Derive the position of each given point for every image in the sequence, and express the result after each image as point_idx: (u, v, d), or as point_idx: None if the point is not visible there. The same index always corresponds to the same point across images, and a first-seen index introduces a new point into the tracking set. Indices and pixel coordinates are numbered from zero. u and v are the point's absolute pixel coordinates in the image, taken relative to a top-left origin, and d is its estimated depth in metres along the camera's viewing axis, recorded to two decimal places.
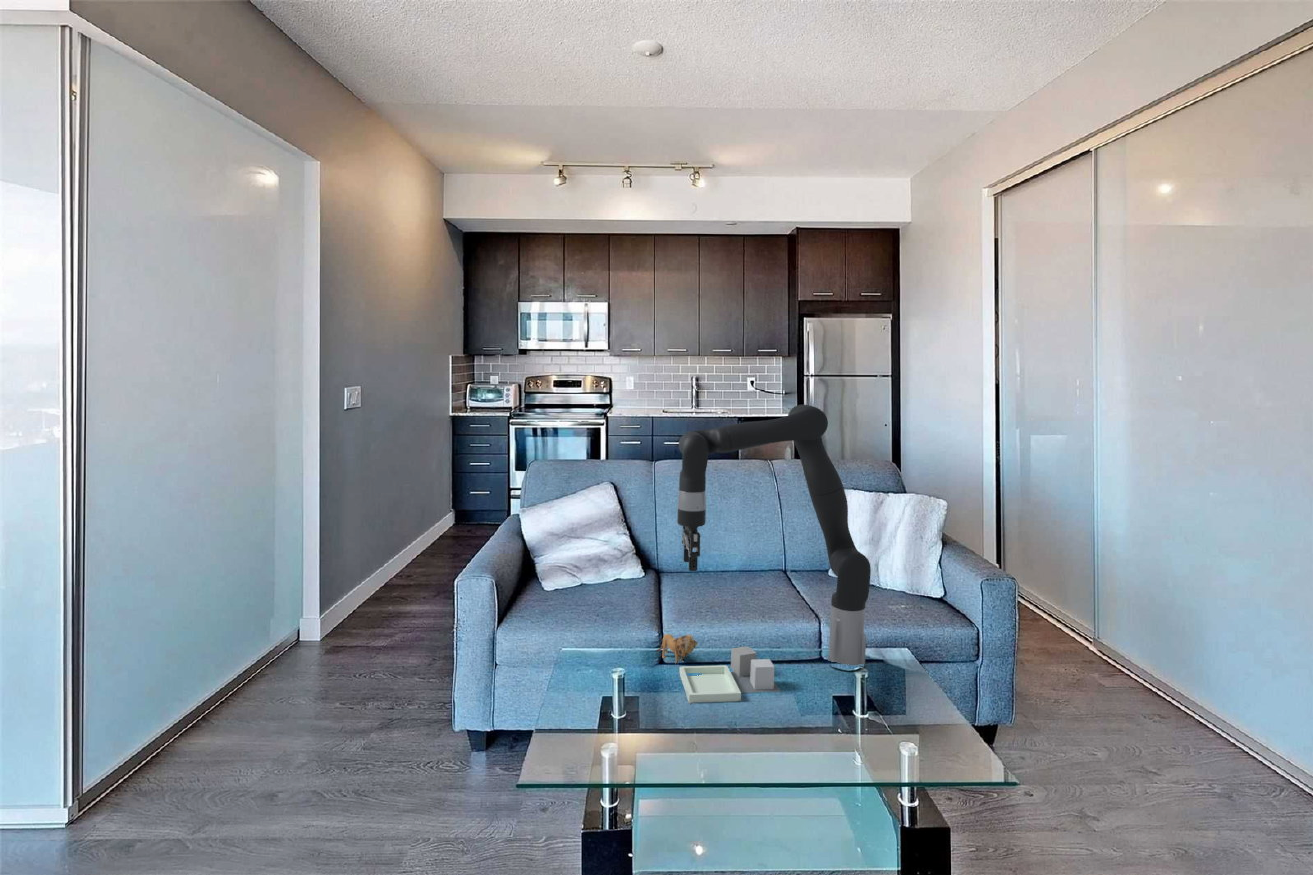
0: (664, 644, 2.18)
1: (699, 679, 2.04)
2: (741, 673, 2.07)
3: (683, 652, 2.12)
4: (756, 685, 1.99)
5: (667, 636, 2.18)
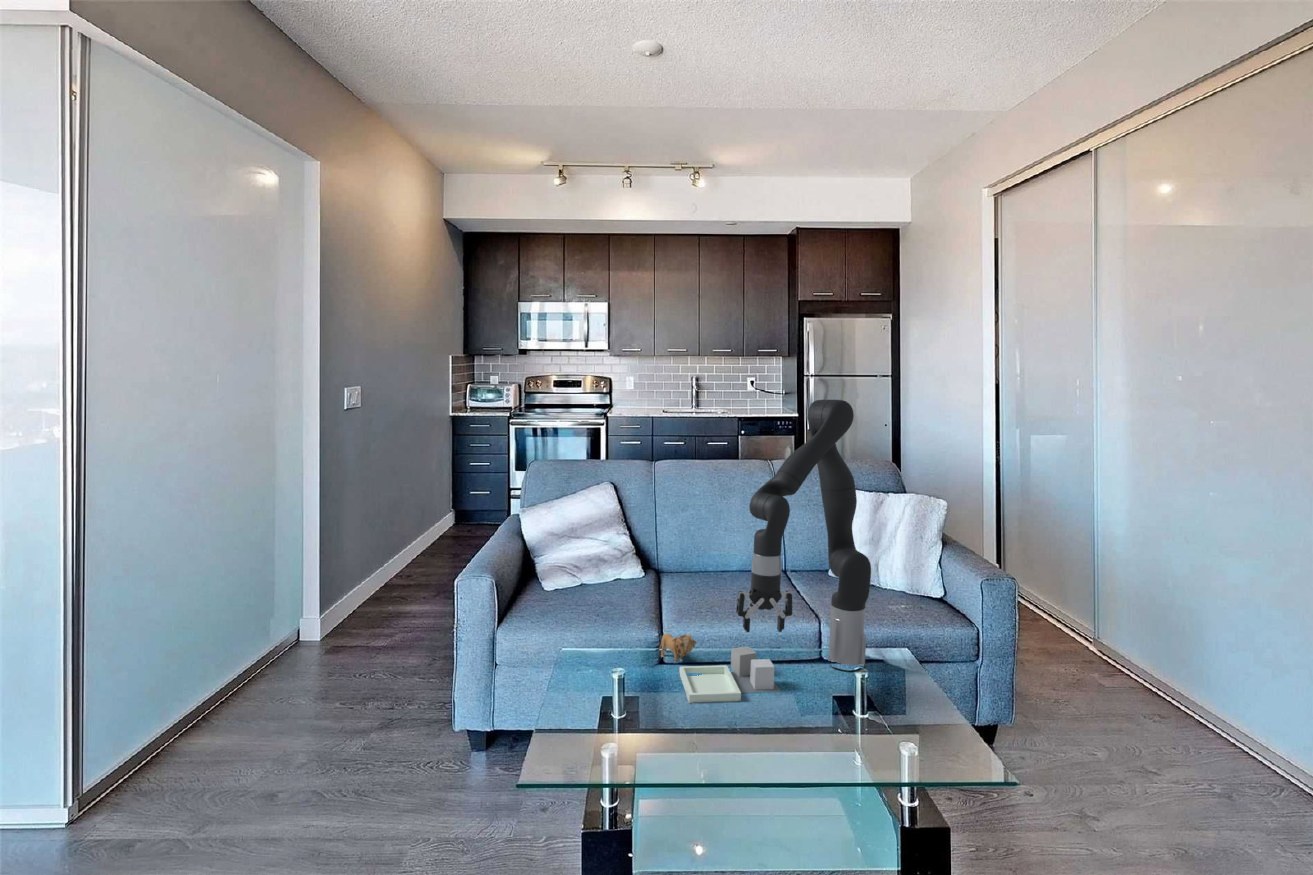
0: (663, 644, 2.19)
1: (699, 679, 2.04)
2: (741, 673, 2.07)
3: (682, 651, 2.12)
4: (756, 685, 1.99)
5: (666, 636, 2.18)
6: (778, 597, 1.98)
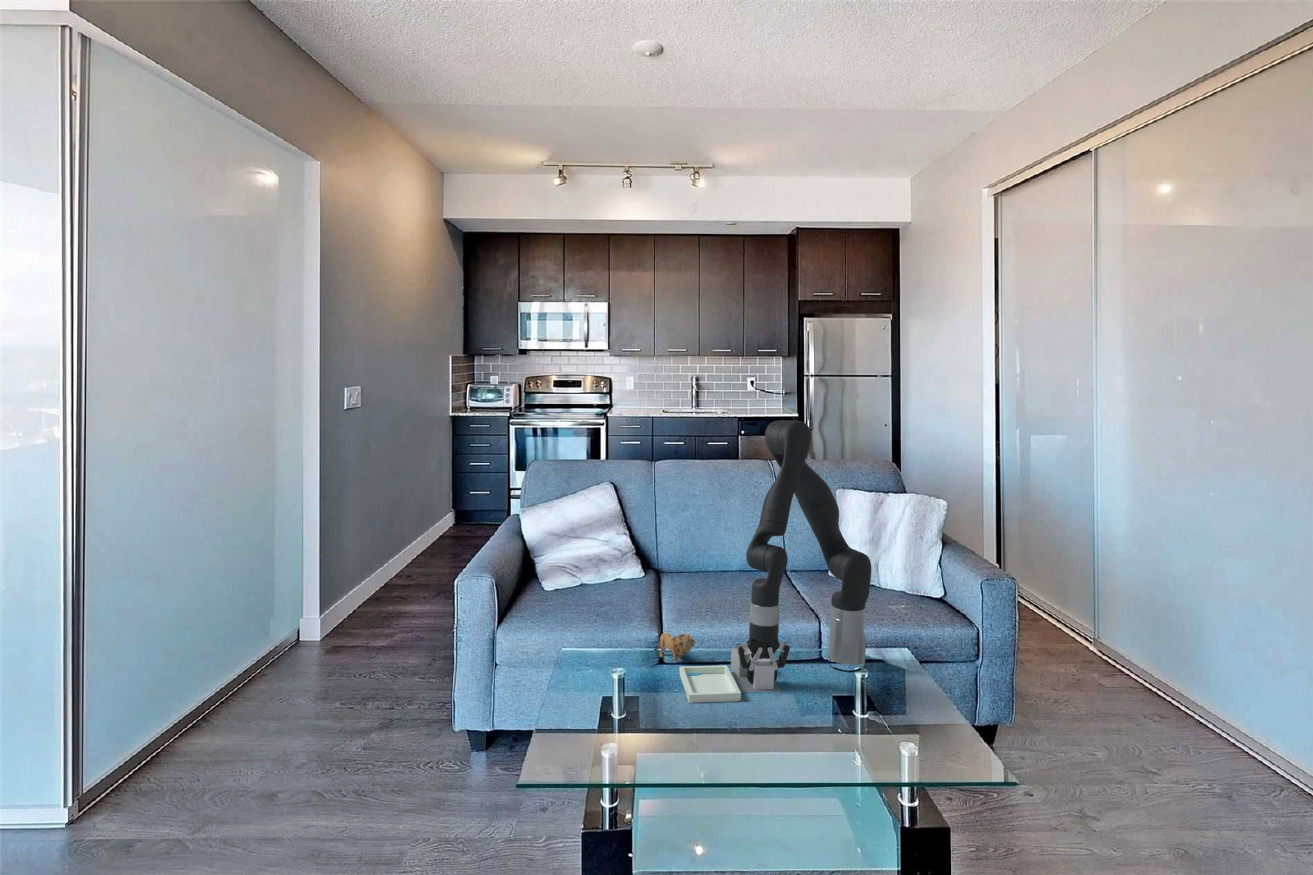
0: (662, 643, 2.19)
1: (699, 679, 2.04)
2: (741, 673, 2.07)
3: (681, 651, 2.12)
4: (756, 685, 1.99)
5: (665, 635, 2.19)
6: (776, 646, 2.00)
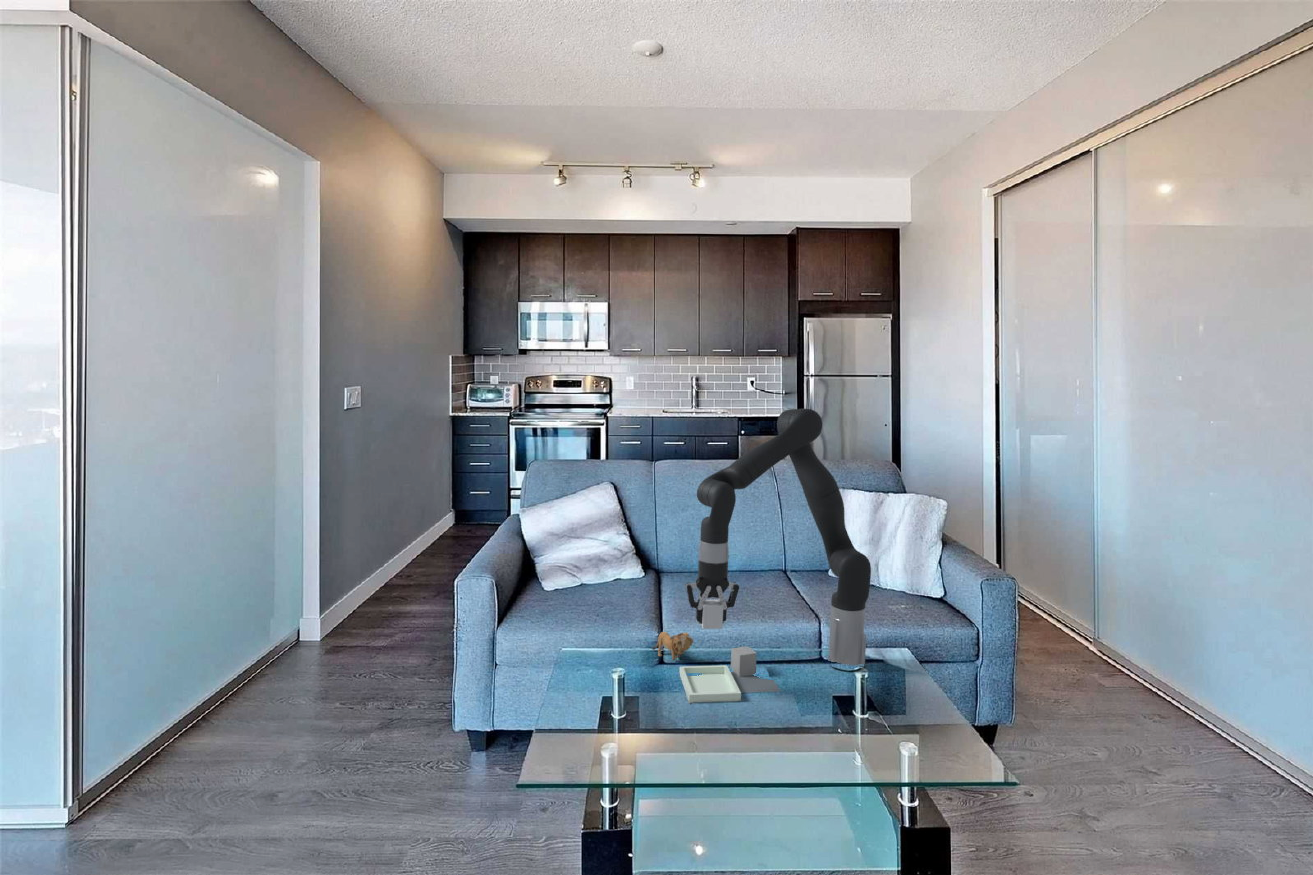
0: (660, 642, 2.20)
1: (699, 679, 2.04)
2: (741, 673, 2.07)
3: (680, 650, 2.13)
4: (704, 624, 1.95)
5: (663, 634, 2.19)
6: (725, 585, 1.96)
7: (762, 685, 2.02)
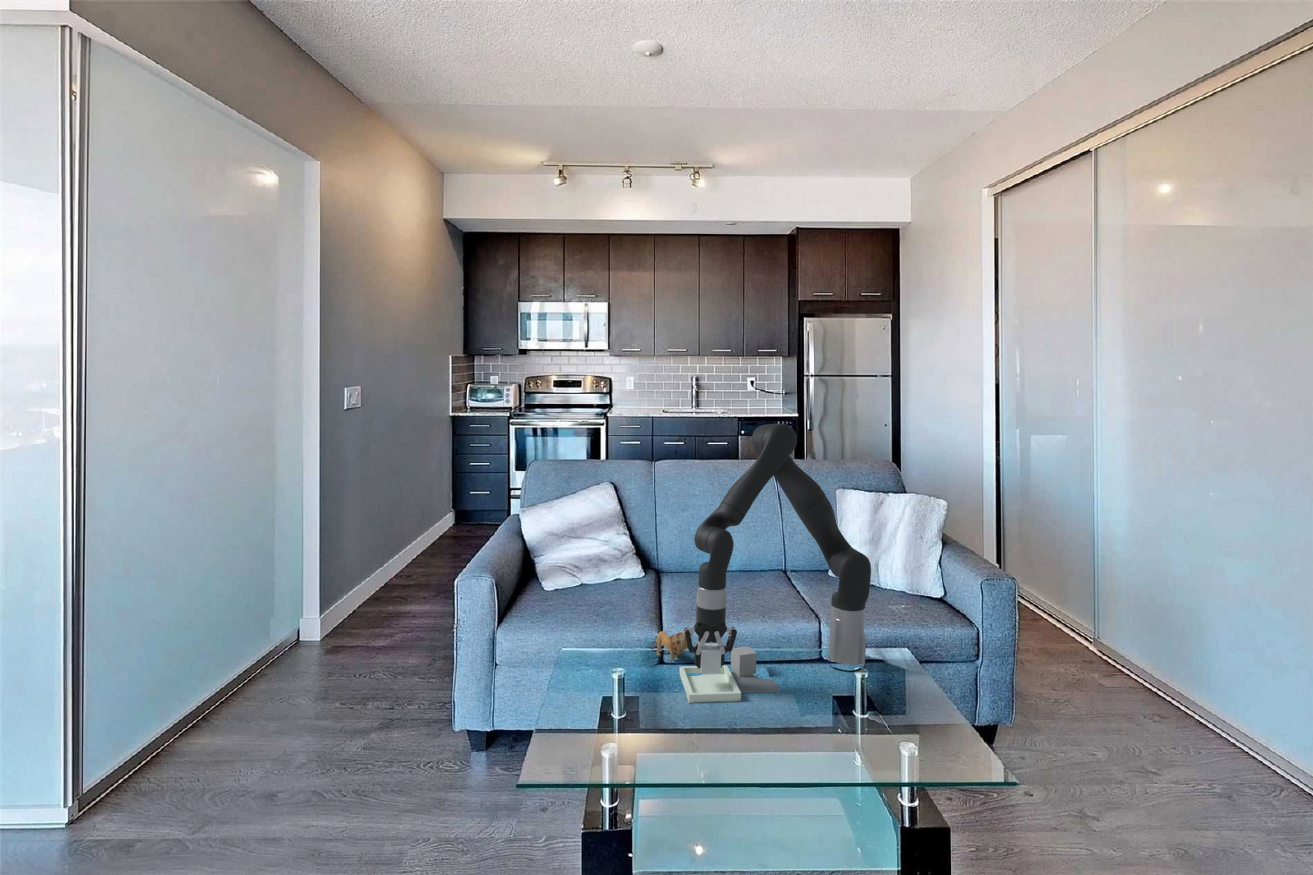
0: (659, 641, 2.20)
1: (699, 679, 2.04)
2: (741, 673, 2.07)
3: (678, 649, 2.14)
4: (703, 669, 1.97)
5: (661, 633, 2.20)
6: (723, 630, 1.98)
7: (762, 685, 2.02)
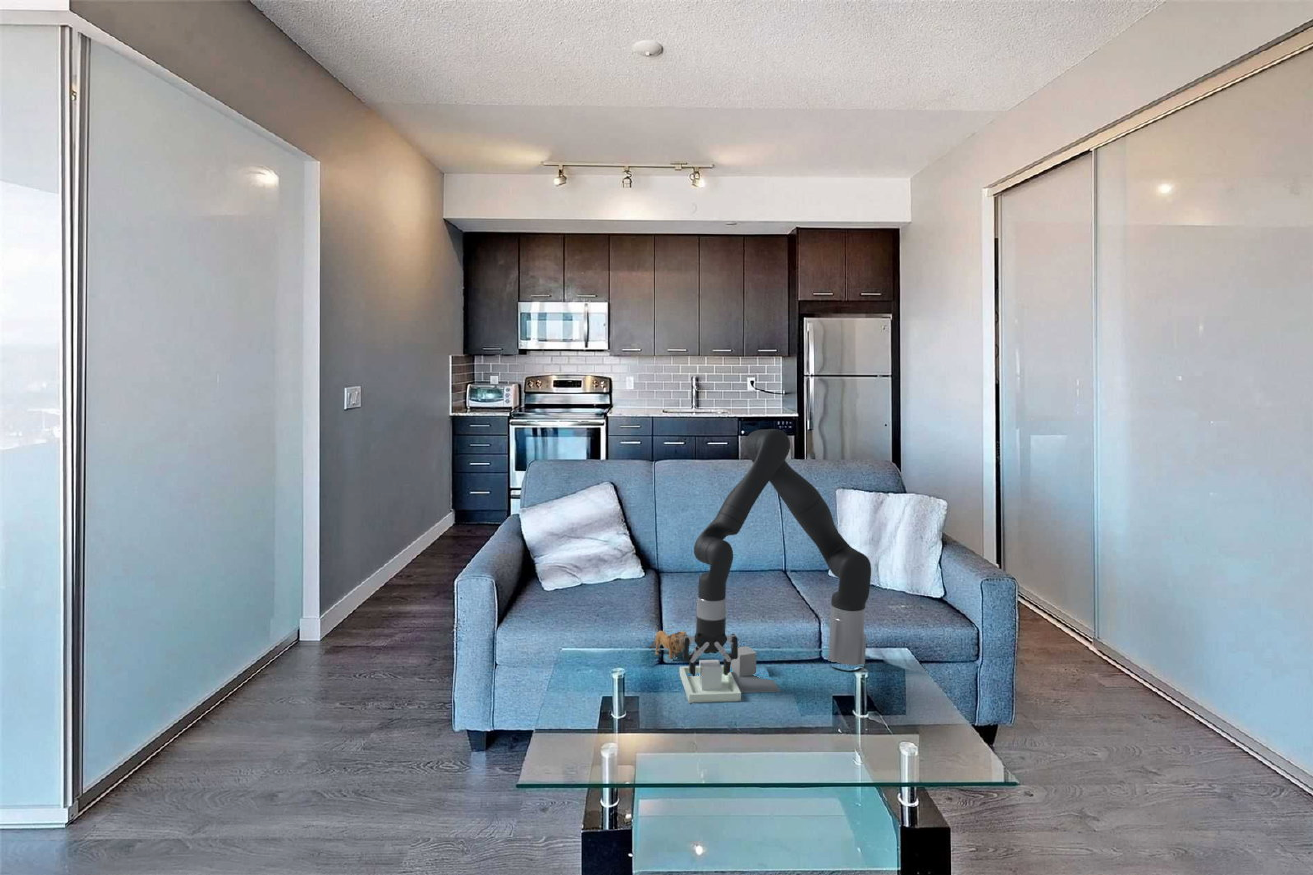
0: (657, 641, 2.20)
1: None
2: (741, 673, 2.07)
3: (677, 648, 2.14)
4: (703, 686, 1.97)
5: (660, 633, 2.20)
6: (723, 641, 1.98)
7: (762, 685, 2.02)
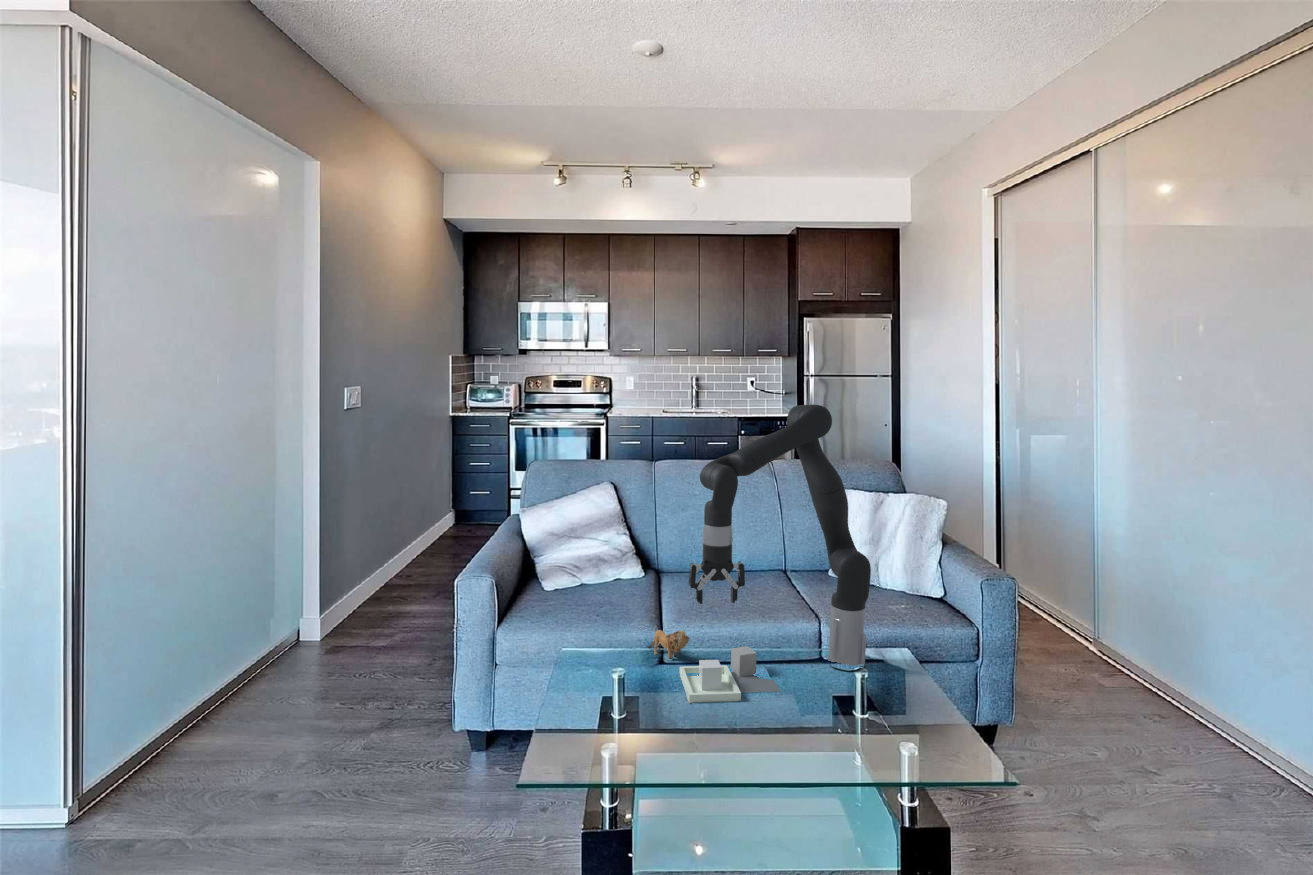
0: (656, 640, 2.21)
1: None
2: (741, 673, 2.07)
3: (676, 648, 2.15)
4: (703, 686, 1.97)
5: (659, 632, 2.21)
6: (730, 568, 1.97)
7: (762, 685, 2.02)
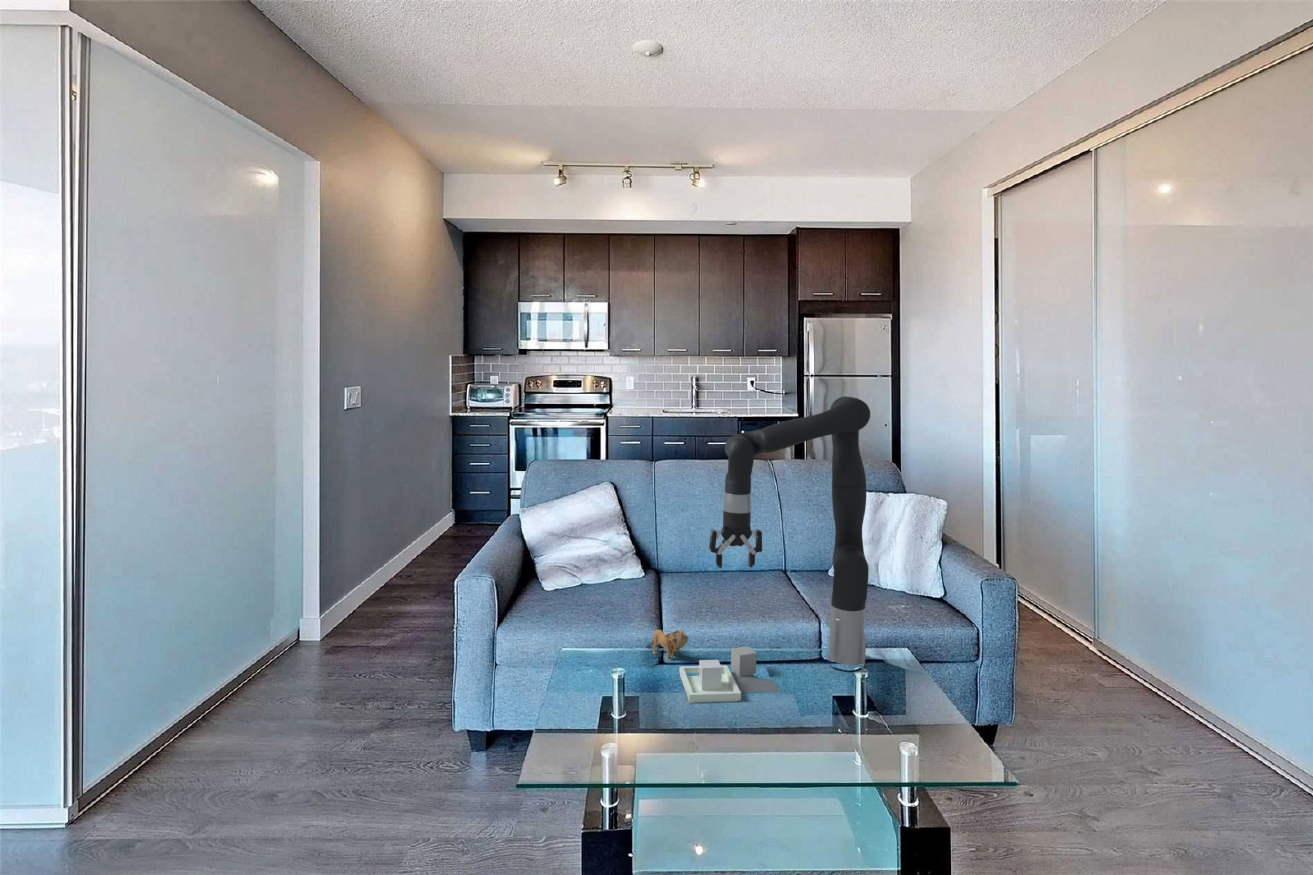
0: (655, 640, 2.21)
1: None
2: (741, 673, 2.07)
3: (675, 647, 2.15)
4: (703, 686, 1.97)
5: (658, 632, 2.21)
6: (748, 534, 2.10)
7: (762, 685, 2.02)
